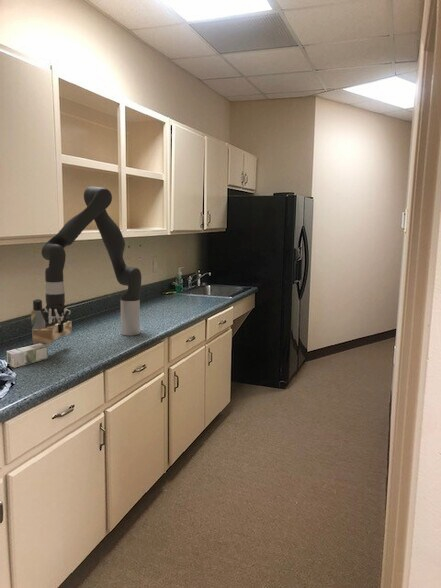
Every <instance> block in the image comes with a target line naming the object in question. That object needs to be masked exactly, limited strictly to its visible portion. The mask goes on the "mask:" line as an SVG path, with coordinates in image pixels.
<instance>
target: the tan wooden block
mask: <svg viewBox="0 0 441 588" xmlns="http://www.w3.org/2000/svg"><path fill="white" fill-rule="evenodd" d="M58 325H59V324H58V323H55V325H52V326H50V325H49V326H47V327H45V328H44V329H41V330H38V329H34V330H33V339H32V343H33V342H37V343H44V344H49V345H51V344H53V343H54V340H56V339H59V338H61V337H64V336H66V335H69V334H71V333H72V330H73V326H72V325H73V324H72V320H68V322H66V323H64V324H63V328H64V330H63V332H62V333H58Z"/></svg>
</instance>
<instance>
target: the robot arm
mask: <svg viewBox="0 0 441 588" xmlns="http://www.w3.org/2000/svg"><path fill="white" fill-rule="evenodd" d="M112 200H113V196H112V192H111V191H110V189H108V188H105V187H102V186H88V187H87V188H86V189H84V192H83V201H84V203H85V205H86V207H85V208H84V209H83V210H81V212H79V213H77V214H76V215H75V216H73V217H72V218H70V219H69V220H68V221H67V222H66V223H65V224H64V225H63V226H62V227H61V229H60V230H59V231H58V232H57V234H55V235H54V236H53V237H51V238H50V239H49V240H48V241H47V242H45V244H44V245H43V247H42V249H41V256H42V258H43V259H45V260H46V261H48V267H46V268H45V272H44V274H45V275H44V276H45V278H44V279H45V285H44V291H45V292H44V293H45V304H46V305H45V307H42V309H40V311H41V313H42V316H43V318H44V320H45V323H48V324H49V326H52V325H55V324H56V323H55V320H57V324H59V325H58V333H62V332H63V330H64V328H63V324H64V323H66V322H68V321H69V319H70V316H71V313H72V309H68V308H66V305H65V304H66V299H65V297H66V295H65V293H66V292H65V282H64V268H65V263H66V257H67V255H66V254H67V253H66V250H65V248H66V247H69V246H71V245H72V244H73V243H74V242H75V241H76V239H78V237H79V236H80V235H81V234H82V232H83V231H84V230H85V229H86V228H87V227H88V226H89V225H90V224H91V223H92V222H93V221H94V222H95V224H96V227H97V229H98V231H99V235H100V237H101V239H102V242H103V244H104V246H105V249H106V251H107V253H108V256H109V260H110V261H111V265H112V268H113V272H114V274H115V278H116V280H117V283H118V284H119V285H122V286H127V291H125V292H123V293H120V334H121V335H122V336H137V335H140V334H141V329H140V328H141V319H140V318H141V316H140V315H141V313H140V312H141V311H140V309H141V308H140V305H141V304H140V302H141V299H140V296H141V295H142V294H141V293H142V272H141V270H140V268H138V267H132V266H127V265H126V263H125V260H124V252H125V248H126V242H125V239H124V235H123V233H122V230H121V228H120V227H119V226H118V225H117V223H116V222H115V221H114V220H113V219H112V217H111V216H110V215H109V213H108V212H107V210H106V209H107V208H109V206H110V205H111V204H112Z"/></svg>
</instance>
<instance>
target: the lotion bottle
mask: <svg viewBox="0 0 441 588" xmlns="http://www.w3.org/2000/svg"><path fill="white" fill-rule="evenodd" d="M42 308H43V300H42V299H38V298H37V299H35V300H32V309H33V310H31V312H30V313H31V314H30V316H31V334H32V336H31V337H32V338H31V339H32V340H33V330H34V329H38V330H41V329H44V328H46V322H45V320H44V318H43V316H42V313H41V311H40V309H42ZM35 344H39V343H37V342H33V341H32V345H35ZM41 344H43V345H45V343H41Z"/></svg>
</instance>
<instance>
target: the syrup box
mask: <svg viewBox="0 0 441 588" xmlns="http://www.w3.org/2000/svg"><path fill="white" fill-rule="evenodd" d="M48 356H49V355H48V345H46V344H41V343H39V344H32V345H28V346H24V347H18V348H14V349H11V350H6V361H7V362H6V364H7V363H8V364H9V365H8V366H9V367H12V368H18V367H23V366H27V365H30V364H35V363H37V362H42V361H44V360H48V359H49V357H48Z"/></svg>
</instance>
